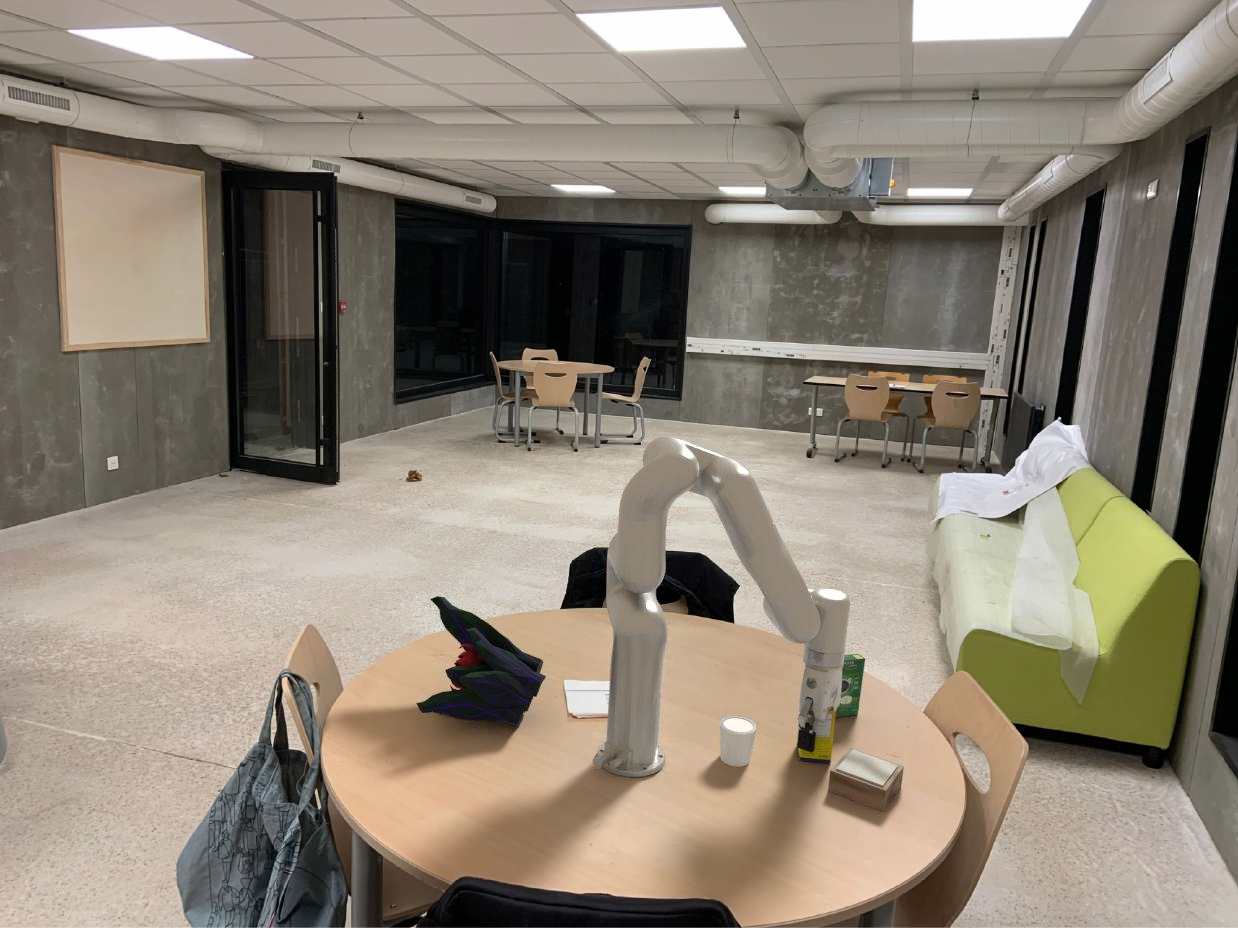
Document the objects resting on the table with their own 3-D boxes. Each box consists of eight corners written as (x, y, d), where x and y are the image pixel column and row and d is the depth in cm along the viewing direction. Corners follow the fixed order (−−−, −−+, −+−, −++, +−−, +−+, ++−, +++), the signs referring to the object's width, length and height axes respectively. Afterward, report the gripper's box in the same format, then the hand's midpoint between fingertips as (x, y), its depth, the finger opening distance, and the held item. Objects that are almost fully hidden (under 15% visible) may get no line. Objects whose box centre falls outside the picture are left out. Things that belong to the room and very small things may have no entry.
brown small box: (883, 811, 152) (886, 789, 151) (827, 790, 157) (830, 768, 156) (901, 786, 160) (904, 764, 159) (848, 767, 165) (850, 746, 164)
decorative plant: (506, 778, 172) (367, 720, 176) (553, 679, 193) (428, 629, 196) (521, 716, 160) (371, 655, 163) (569, 618, 180) (435, 565, 183)
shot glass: (725, 770, 162) (728, 735, 161) (711, 750, 169) (714, 717, 167) (759, 766, 164) (762, 731, 163) (744, 747, 170) (747, 714, 169)
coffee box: (851, 709, 188) (858, 651, 186) (859, 715, 186) (866, 657, 183) (819, 713, 186) (825, 655, 183) (826, 720, 183) (833, 661, 180)
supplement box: (826, 747, 172) (832, 696, 170) (830, 764, 166) (836, 710, 164) (795, 744, 172) (801, 693, 170) (798, 761, 166) (804, 707, 164)
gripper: (824, 676, 156) (815, 766, 159) (859, 646, 170) (849, 729, 174) (785, 664, 160) (777, 752, 164) (822, 635, 174) (813, 717, 178)
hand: (814, 740), depth 169 cm, fingers closed on supplement box, 8 cm apart
